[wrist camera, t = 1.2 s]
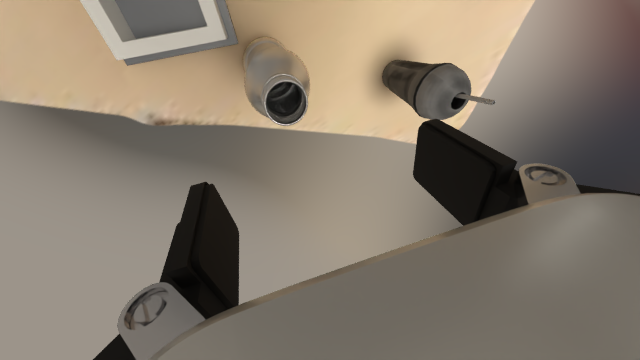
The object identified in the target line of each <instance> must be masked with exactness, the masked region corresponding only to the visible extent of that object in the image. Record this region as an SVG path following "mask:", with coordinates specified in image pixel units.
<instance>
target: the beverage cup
mask: <svg viewBox="0 0 640 360" xmlns="http://www.w3.org/2000/svg"><path fill="white" fill-rule="evenodd" d="M382 79H383V83H384V85H385V86H386V87H388V88H389V89H390V90H391V91H392V92H393V93H395V94H396V95H397V96H399V97H400V98H401V99H403V100H404V101H405V102H407V103H408V104H409V105H410V106H411V107H412V108H413V109H414V110H415V112H416V113H417V114H418V115H419V116H421V117H423V118H428V119H431V120H433V119H439V120H443V119H447V118H450V117H452V116H454V115H456V114H457V113H459V112H460V111H461V110H462V109H463V108H464V107H465V105H466V104H467V102H468V100H471V101H476V102H481V103H485V104H490V105H494V104H495V103H496V101H495V100H490V99H485V98H480V97H475V96H471V95H470V94H471V83H470V80H469V78H468V76H467V74H466V73H465V72H464V71H463V70H461V69H460V68H458V67H457V66H455V65H453V64H452V63H442V64H427V63H419V62H411V61H402V60H401V61H400V60H395V61H392V62H391V63H389V64H388V65H387V66H386V68H385V69H384V71H383V76H382Z"/></svg>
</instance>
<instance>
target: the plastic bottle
mask: <svg viewBox="0 0 640 360" xmlns="http://www.w3.org/2000/svg"><path fill="white" fill-rule="evenodd" d="M243 67H244V71H245V91H246V95H247V97H248V100H249V102H250V103H251V105H252V106H253V107H254V108H255V109H256V111H258V112H259V113H260V114H262V115H264V116H266V117H268V118H270V119H271V120H272V121H273V122H274V123H276V124H279V125H283V126H288V125H292V124H295V123H297V122H298V121H300V120H301V119H302V118H303V116H304V115H305V113H306V110H307V107H308V96H309V90H310V78H309V74H308V71H307V68H306V66H305V65H304V63H303V62H302V60H301V59H300V58H299V57H298V56H297V55H295V54H294V53H292V52H291V51H288V50H286V49H285V47H284V46H283V45H282V44H281V43H280V42H278V41H277V40H275V39H273V38H269V37H261V38H257V39H255V40H254V41H252V42H251V43H250V44H249V45H248V47H247V48H246V50H245V53H244V57H243Z"/></svg>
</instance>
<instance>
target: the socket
mask: <svg viewBox="0 0 640 360" xmlns="http://www.w3.org/2000/svg"><path fill="white" fill-rule="evenodd" d="M80 1H81V3H82V4H83V6H84V8H85V9H86V11H87V13H88V14H89V16H90V17H91V19H92V21H93V22H94V24H95V26H96V27H97V29H98V30H99V32H100V34H101V35H102V37H103V39H104V40H105V42H106V43H107V45H108V47H109V48H110V50H111V51H112V53H113V55H114V56H115V58H116V60H122V59H124V61H125V63H126V64H127V66H128V65H133V64H138V63H143V62H148V61H153V60H158V59H163V58H168V57H173V56H178V55H183V54H188V53H194V52H199V51H204V50H209V49H214V48H219V47H224V46H229V45H234V44H238V40H237V37H236V34H235V30H234V27H233V24H232V21H231V18H230V14H229V11H228V8H227V5H226V2H225V0H80Z"/></svg>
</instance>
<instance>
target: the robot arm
mask: <svg viewBox="0 0 640 360" xmlns="http://www.w3.org/2000/svg"><path fill="white" fill-rule="evenodd" d="M516 163H517V162H516V161H515V160H513V159H511V158H510V157H508V156H506V155H504V154H502V153H500V152H498V151H496V150H494V149H493V148H491V147H489V146H487V145H485V144H483V143H481V142H480V141H478V140H476V139H474V138H472V137H470V136H468V135H467V134H465V133H463V132H461V131H459V130H457V129H455V128H453V127H452V126H450V125H448V124H446V123H444V122H442V121H440V120H439V119H433V120H429V121H425V122H423V123H422V125H421V126H420V127H419V130H418V137H417V145H416V154H415V162H414V170H413V175H414V178H415V180H416V181H417V182H418V183H419V184H420V185H421V186H422V187H423V188H424V189H426V190H427V191H428V192H429V193H430V194H431V195H432V196H433V197H434V198H435V199H436V200H437V201H438V202H439V203H440V204H441V205H442V206H443V207H444V208H445V209H447V210H448V211H449V212H450V213H451V214H452V215H453V216H454V217H455V218H456V219H457V220H458V221H459V222H460V223H461V224H462V225H463V226H462V227H459V228H456V229H453V230H450V231H447V232H444V233H441V234H438V235H435V236H432V237H430V238H426V239H423V240H420V241H418V242H415V243H412V244H409V245H406V246H403V247H401V248H397V249H394V250H392V251H389V252H386V253H383V254H380V255H377V256H374V257H371V258H368V259H366V260H363V261H360V262H357V263H354V264H351V265H348V266H346V267H343V268H340V269H337V270H334V271H331V272H329V273H326V274H323V275H320V276H317V277H315V278H312V279H309V280H306V281H303V282H300V283H297V284H294V285H292V286H289V287H286V288H283V289H281V290H278V291H275V292H273V293H270V294H267V295H264V296H262V297H259V298H256V299H254V300H251V301H248V302H245V303H243V304H241V305H238V303H239V290H238V289H239V231H238V228H237V226H236V224H235V222H234V220H233V218H232V217H231V215H230V213H229V211H228V209H227V208H226V206H225V205H224V202H223V200H222V199H221V197H220V195H219V193H218V192H217V190H216V188H215V186H214V185H213V184H210V185H209V184H208V183H207V182H203V183H200V184H196V185H193V186H191V187H190V190H189V194H188V197H187V200H186V204H185V207H184V211H183V214H182V218H181V221H180V223H178V224H177V226H176V229H175V233H174V236H173V239H172V242H171V246H170V250H169V252H168V256H167V259H166V262H165V266H164V269H163V272H162V276H161V279H160V282H159V283H155V284H152V285H150V286H148V287H146V288H144V289H143V290H141V291H140V292H139V293H137V294H136V295H135V296H134V297H133V298H132V299H131V300H130V301H129V302H128V303H127V305H126V306H125V307H124V309H123V310H122V312H121V314H120V316H119V319H118V325H117V326H118V330H119V333H120V334H119V335H118V336H117V337H116V338H115V339H114V340H113V341H112V342H111V343H110V344H108V345H107V347H105V348H104V349H103V350H102V352H100V353H99V354H98V355H97V356H96V357H95V358H94V359H93V360H640V194H635V193H630V192H623V191H616V190H610V189H603V188H597V187H590V186H584V185H577V184H575V182H574V180H573V179H572V177H571V176H570V175H569V174H568V173H566V172H564V171H563V170H561V169H559V168H556V167H553V166H549V165H544V164H527V165H524V166H522V167H521V168H520V169H519V171H516V170H514V168H515V166H516Z"/></svg>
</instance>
